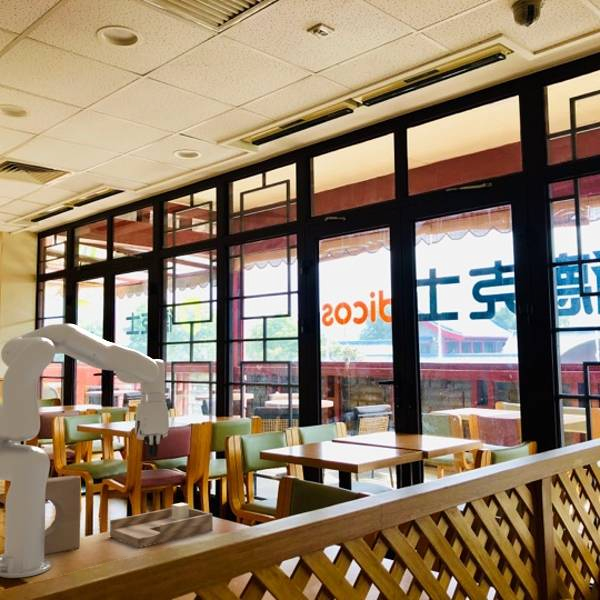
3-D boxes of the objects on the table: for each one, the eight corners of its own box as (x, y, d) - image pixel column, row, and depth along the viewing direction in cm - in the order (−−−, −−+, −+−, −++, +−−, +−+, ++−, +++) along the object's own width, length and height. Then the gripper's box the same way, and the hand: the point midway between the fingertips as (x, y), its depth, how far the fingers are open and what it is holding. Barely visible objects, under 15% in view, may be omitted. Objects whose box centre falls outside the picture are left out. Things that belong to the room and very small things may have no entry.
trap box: (139, 547, 186) (139, 530, 186) (110, 537, 198) (110, 520, 198) (212, 530, 204) (212, 513, 205) (181, 521, 216) (181, 505, 217)
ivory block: (178, 519, 209) (178, 506, 209) (171, 517, 211) (171, 504, 212) (189, 516, 211) (189, 504, 212) (182, 515, 214) (182, 502, 215)
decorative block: (40, 556, 180) (41, 482, 181) (34, 551, 184) (35, 479, 186) (80, 548, 186) (81, 477, 188) (73, 544, 191) (74, 474, 193)
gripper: (166, 396, 215) (166, 453, 213) (125, 399, 204) (125, 458, 203) (179, 397, 210) (179, 455, 208) (138, 400, 199) (137, 461, 197)
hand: (152, 456), depth 205 cm, fingers closed
